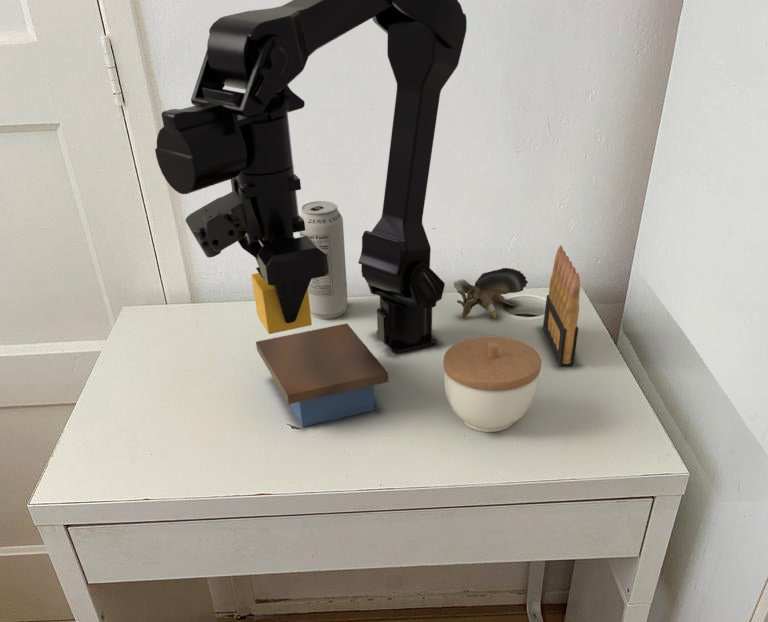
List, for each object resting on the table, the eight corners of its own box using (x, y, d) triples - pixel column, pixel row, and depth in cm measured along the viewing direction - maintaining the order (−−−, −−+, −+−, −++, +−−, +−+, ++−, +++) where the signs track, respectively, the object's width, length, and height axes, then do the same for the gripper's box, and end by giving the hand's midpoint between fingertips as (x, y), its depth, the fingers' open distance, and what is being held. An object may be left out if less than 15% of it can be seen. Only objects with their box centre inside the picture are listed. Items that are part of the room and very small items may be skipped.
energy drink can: (356, 310, 114) (351, 205, 105) (327, 324, 111) (319, 217, 101) (327, 299, 117) (319, 196, 108) (298, 313, 114) (287, 208, 104)
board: (347, 331, 100) (347, 323, 99) (388, 382, 90) (388, 372, 89) (256, 350, 97) (255, 341, 96) (288, 404, 87) (287, 395, 86)
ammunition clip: (573, 366, 100) (586, 275, 92) (559, 366, 100) (571, 276, 92) (555, 328, 108) (566, 242, 100) (542, 329, 108) (552, 243, 100)
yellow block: (299, 307, 91) (294, 265, 87) (312, 325, 87) (307, 282, 84) (257, 315, 89) (250, 274, 86) (268, 334, 86) (262, 291, 83)
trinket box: (449, 446, 87) (451, 372, 81) (436, 397, 95) (437, 325, 89) (544, 440, 87) (554, 365, 81) (523, 391, 95) (530, 319, 89)
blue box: (341, 365, 102) (339, 337, 99) (374, 410, 93) (373, 380, 90) (274, 379, 99) (270, 351, 97) (302, 427, 90) (298, 397, 88)
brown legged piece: (487, 324, 107) (537, 296, 109) (465, 276, 105) (515, 248, 108) (461, 333, 114) (508, 306, 117) (440, 288, 112) (488, 262, 115)
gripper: (167, 153, 82) (196, 293, 92) (202, 208, 69) (231, 365, 79) (270, 138, 85) (287, 276, 95) (322, 188, 72) (336, 342, 82)
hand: (283, 312), depth 88 cm, fingers closed on yellow block, 5 cm apart
